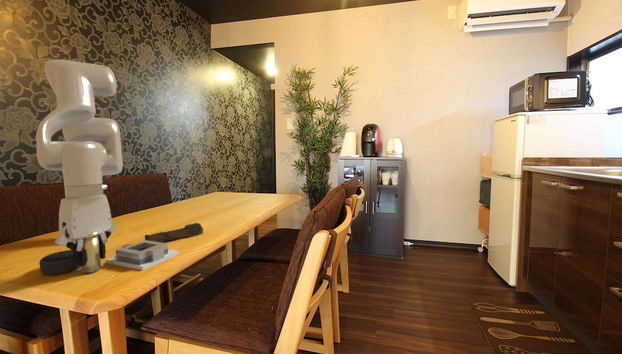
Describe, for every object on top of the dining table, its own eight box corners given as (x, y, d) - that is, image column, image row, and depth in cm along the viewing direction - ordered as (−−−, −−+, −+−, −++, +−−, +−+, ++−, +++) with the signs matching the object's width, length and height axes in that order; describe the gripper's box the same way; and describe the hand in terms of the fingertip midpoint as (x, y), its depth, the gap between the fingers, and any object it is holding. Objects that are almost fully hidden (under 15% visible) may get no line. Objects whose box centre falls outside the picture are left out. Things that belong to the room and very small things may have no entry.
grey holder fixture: (107, 259, 80) (107, 248, 80) (137, 248, 88) (136, 238, 88) (144, 265, 75) (143, 254, 75) (172, 254, 83) (171, 243, 83)
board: (106, 263, 79) (106, 259, 79) (145, 248, 91) (144, 245, 91) (142, 270, 74) (142, 266, 74) (179, 254, 86) (178, 251, 85)
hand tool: (147, 248, 92) (146, 234, 91) (144, 245, 95) (143, 231, 94) (205, 236, 104) (205, 223, 104) (201, 233, 107) (201, 221, 107)
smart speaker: (70, 261, 82) (69, 247, 81) (92, 264, 79) (91, 250, 79) (32, 274, 73) (30, 259, 73) (55, 278, 71) (53, 263, 70)
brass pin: (75, 271, 73) (71, 233, 72) (95, 264, 77) (92, 228, 76) (87, 274, 71) (84, 235, 70) (107, 267, 76) (104, 230, 75)
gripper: (108, 186, 81) (113, 248, 83) (34, 196, 66) (42, 272, 68) (126, 187, 79) (131, 252, 81) (54, 198, 63) (62, 277, 65)
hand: (90, 260), depth 74 cm, fingers closed on brass pin, 4 cm apart
